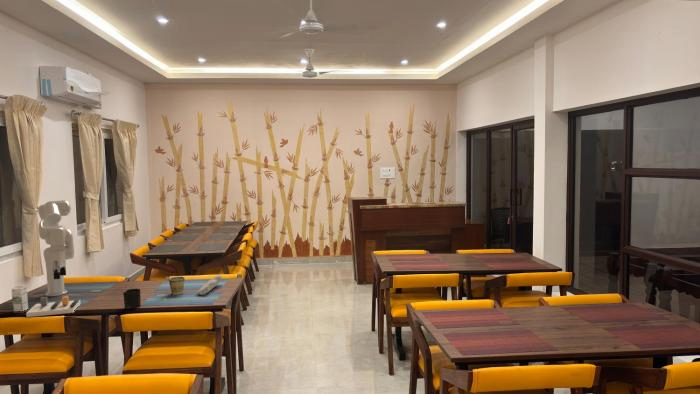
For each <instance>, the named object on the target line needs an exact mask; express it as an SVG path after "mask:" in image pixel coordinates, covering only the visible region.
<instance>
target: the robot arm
mask: <svg viewBox="0 0 700 394" xmlns="http://www.w3.org/2000/svg"><path fill="white" fill-rule="evenodd" d="M37 211H38V215H39V218H40V219H41V220H40V221H39V223H38V235H39V239H41V240H44V241H45V243H46V244H47V245H49V247H46V248H45V249H44V250H43V257H44V263H45V271H46V283H47V284H46V285H47V292H45V294H44V295H45V297H57V296H62V295H65V294H67V293H68V290H67V289H65V277H64V276H67V269H66V268H67V267H66V265H67V264H66V263H67V262H66V261H68V260H71V259H74V256H75V247H74V246H75V245H74V238H73V237H74V236H73V232H72V230H71V229H70V228H66V226H64V225H60V224H59V223H60V222H61V221H62V217H65V216H66V217H67V216H69V214H70V213H71V203H70V202H69V201H68V200H50V201H47V202H46V203H44V204H41V205H39V206H38V207H37Z"/></svg>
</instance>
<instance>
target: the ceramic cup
mask: <svg viewBox="0 0 700 394" xmlns="http://www.w3.org/2000/svg"><path fill="white" fill-rule="evenodd" d="M185 278H186V277H185V276H173V277H169V278H168V284H169V286H170V290H171V295H173V296H175V295H176V296H177V295H181V294H183V293H184V288H185V286H184V285H185V281H186V279H185Z"/></svg>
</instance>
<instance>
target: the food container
mask: <svg viewBox="0 0 700 394" xmlns="http://www.w3.org/2000/svg"><path fill="white" fill-rule="evenodd" d="M222 278H223V276H222V274H218V275H216V276H214V277H213V278H211V279H208V280H207V281H206V283H204V284H203V285H202V286H201V287H200V289H198V290H197V292H196V293H198V295H200V296H205V295H206V294H207V293H209V292H210V291H212V290H213V289H214V288H215V287H217V285H218V284H220V282H221V279H222Z"/></svg>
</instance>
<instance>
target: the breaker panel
mask: <svg viewBox="0 0 700 394" xmlns="http://www.w3.org/2000/svg"><path fill="white" fill-rule="evenodd" d="M55 302H56V301H52V302H48V304H47V305H44V306H41V303H36V304H34V305H33V306H31V308H30V309H28V310H27V312H26V313H25V315H26V318H31V317H40V316H41V317H42V316H51V315H52V316H53V315H54V316H55V315H62V314H63V315H64V314H74V313H75V311H76V310H77V309H78V308H79V307H80V305H81V304H82V303H81V299H79V301H78V302H77V303H76V305H75V306H74V307H73V308H71V307H70V305H71V304H72V303H73V302H74V300H69V304H68V305H62V301H61V302H60V303H59V304H58V305H57V306H56V307H55V309H53V310H52V309H51V306H52V305H53V304H54V303H55ZM78 306H79V307H78ZM77 307H78V308H77ZM76 308H77V309H76ZM75 309H76V310H75ZM74 310H75V311H74Z"/></svg>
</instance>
